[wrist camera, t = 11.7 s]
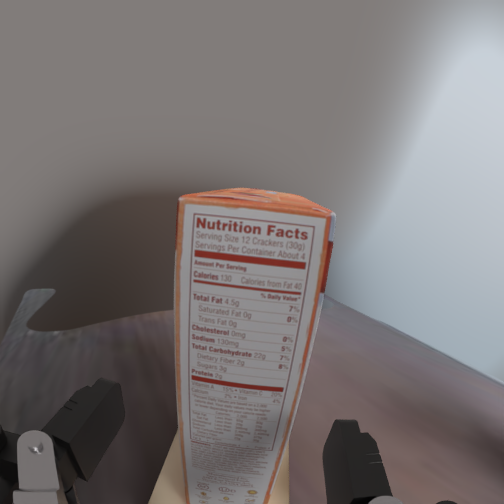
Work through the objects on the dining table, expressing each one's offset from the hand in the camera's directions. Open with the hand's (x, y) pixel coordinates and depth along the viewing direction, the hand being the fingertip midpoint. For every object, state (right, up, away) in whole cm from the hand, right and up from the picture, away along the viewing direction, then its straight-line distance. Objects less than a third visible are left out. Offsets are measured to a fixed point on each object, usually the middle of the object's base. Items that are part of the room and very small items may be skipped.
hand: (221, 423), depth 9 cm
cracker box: (-1, -11, +12) cm, 16 cm away
